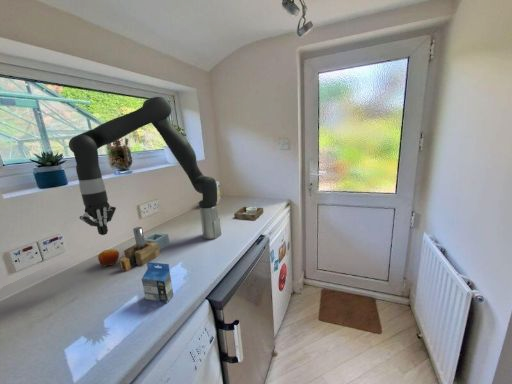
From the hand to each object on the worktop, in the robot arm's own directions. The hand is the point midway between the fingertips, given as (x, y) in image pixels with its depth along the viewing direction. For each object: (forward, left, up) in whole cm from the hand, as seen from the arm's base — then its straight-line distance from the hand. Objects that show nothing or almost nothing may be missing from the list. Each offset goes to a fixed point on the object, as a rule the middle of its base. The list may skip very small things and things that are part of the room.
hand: (103, 234), depth 88 cm
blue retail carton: (-28, +4, -19) cm, 34 cm away
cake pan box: (+12, -97, -19) cm, 100 cm away
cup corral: (-26, -80, -19) cm, 86 cm away
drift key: (0, -9, -19) cm, 21 cm away
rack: (+3, -26, -19) cm, 32 cm away
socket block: (0, -15, -19) cm, 24 cm away
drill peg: (0, -15, -19) cm, 24 cm away
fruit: (+12, -7, -19) cm, 23 cm away
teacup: (-27, -81, -19) cm, 88 cm away
